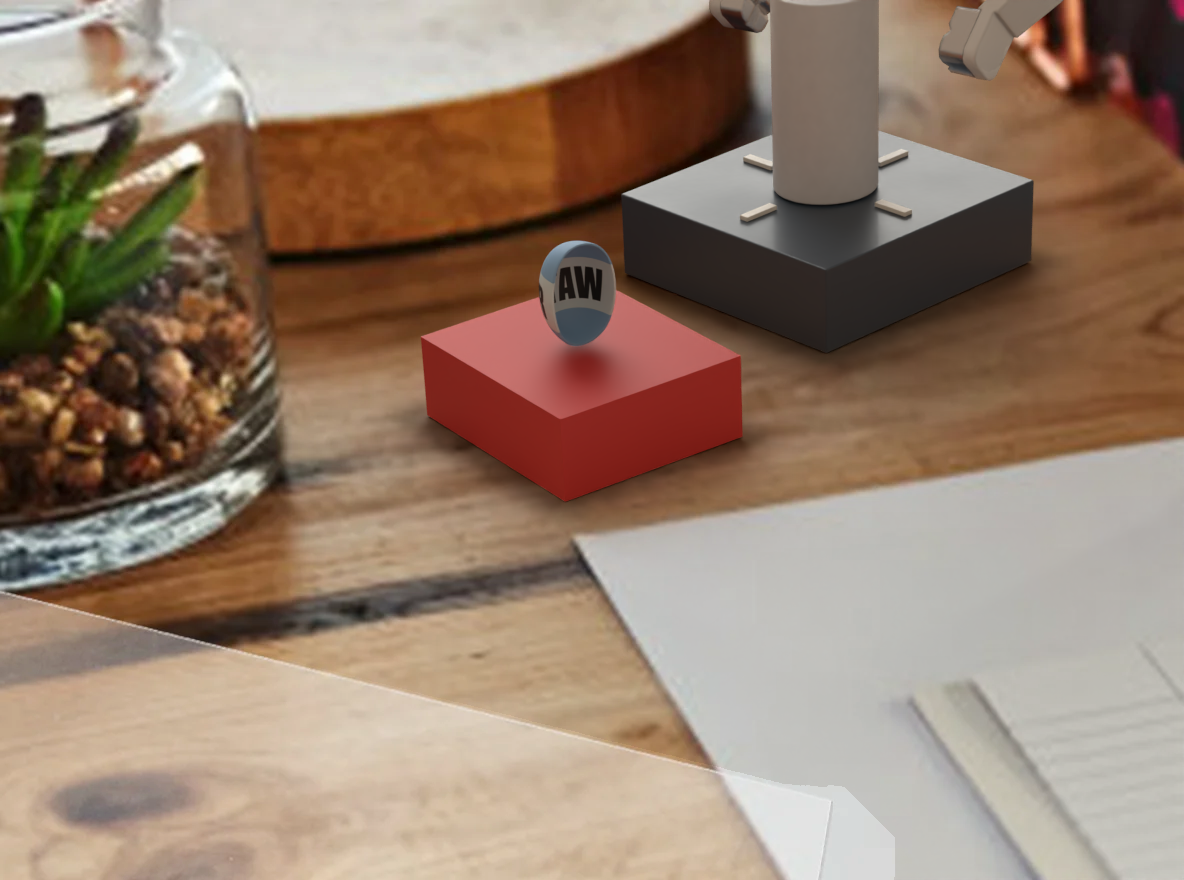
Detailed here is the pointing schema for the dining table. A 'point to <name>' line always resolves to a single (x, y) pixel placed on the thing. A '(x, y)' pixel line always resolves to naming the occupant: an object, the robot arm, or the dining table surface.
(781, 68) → the cylinder
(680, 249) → the base
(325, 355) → the dining table surface
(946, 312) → the dining table surface
